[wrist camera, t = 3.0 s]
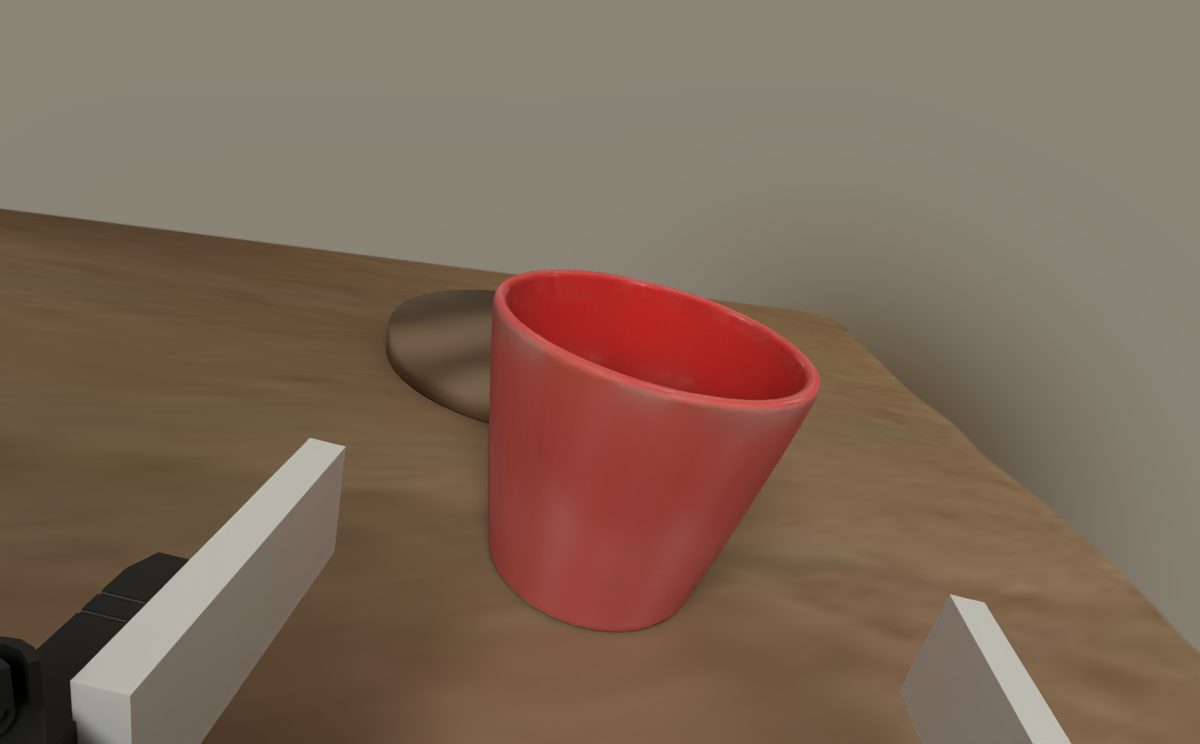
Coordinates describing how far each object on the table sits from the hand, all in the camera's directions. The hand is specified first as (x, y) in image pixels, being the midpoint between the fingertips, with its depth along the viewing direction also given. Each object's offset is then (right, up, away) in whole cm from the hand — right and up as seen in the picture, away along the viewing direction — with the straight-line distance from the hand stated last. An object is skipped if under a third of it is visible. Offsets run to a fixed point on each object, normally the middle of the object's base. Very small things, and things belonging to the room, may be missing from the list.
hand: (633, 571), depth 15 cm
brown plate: (-5, +5, +27) cm, 28 cm away
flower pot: (-1, -3, +12) cm, 12 cm away
